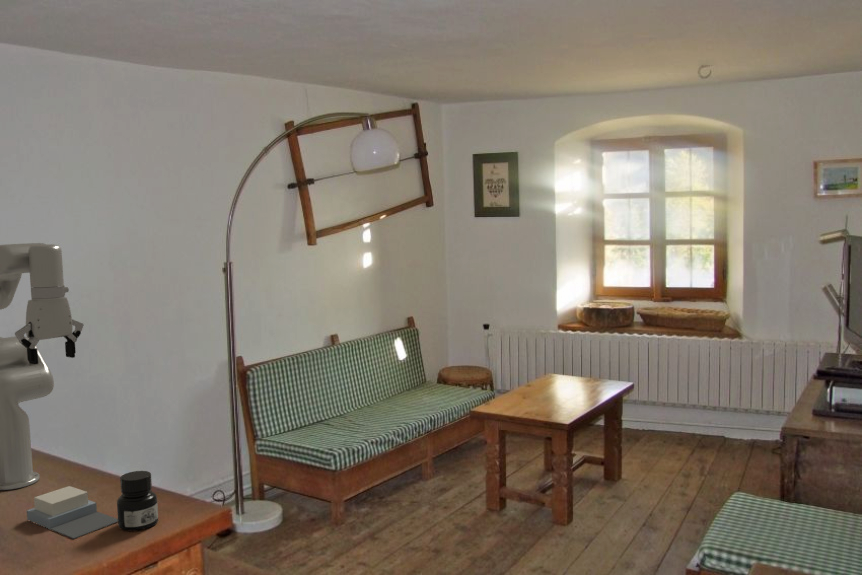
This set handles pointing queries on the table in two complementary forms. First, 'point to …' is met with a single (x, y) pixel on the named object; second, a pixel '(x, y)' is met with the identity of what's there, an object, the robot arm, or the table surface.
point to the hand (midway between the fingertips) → (52, 360)
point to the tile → (61, 500)
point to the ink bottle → (137, 502)
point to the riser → (60, 515)
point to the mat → (85, 525)
